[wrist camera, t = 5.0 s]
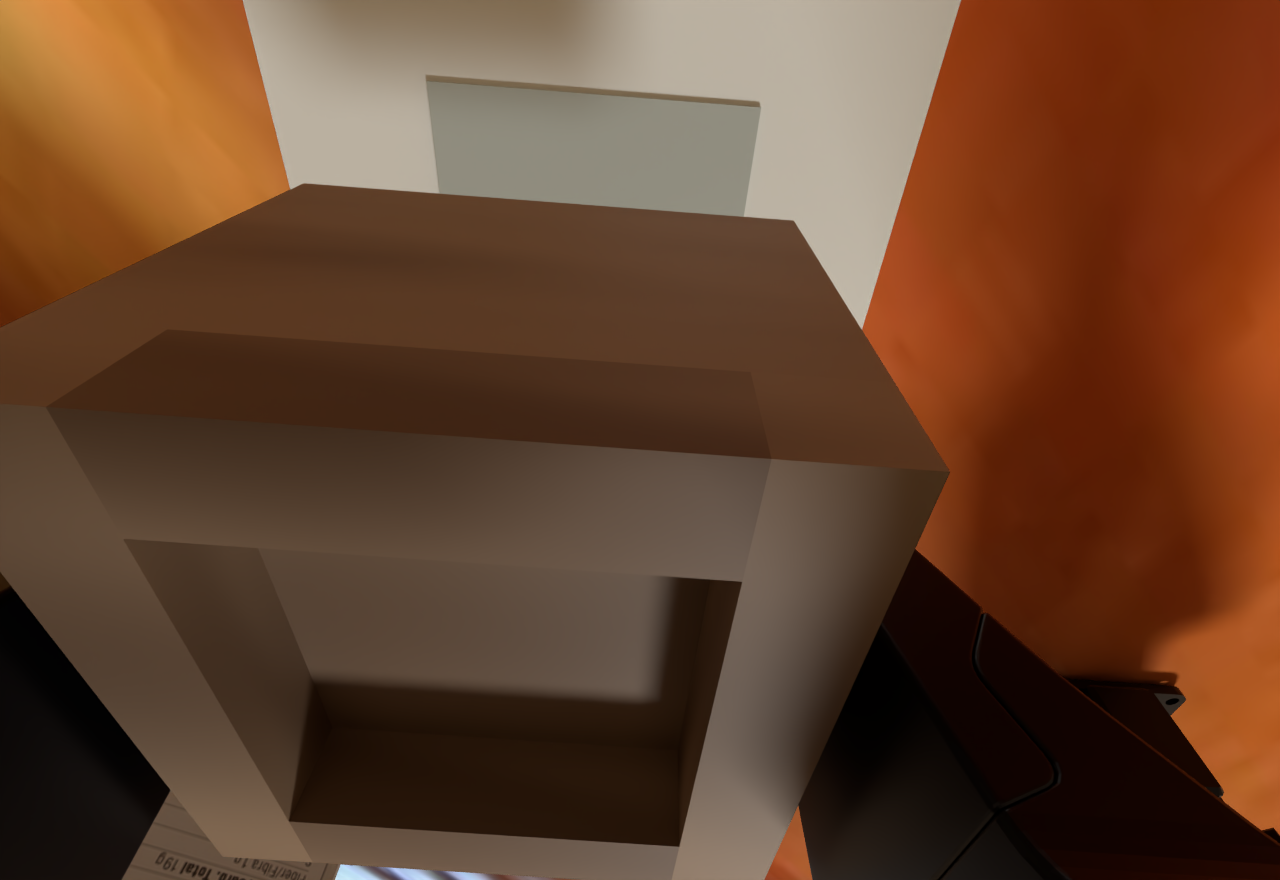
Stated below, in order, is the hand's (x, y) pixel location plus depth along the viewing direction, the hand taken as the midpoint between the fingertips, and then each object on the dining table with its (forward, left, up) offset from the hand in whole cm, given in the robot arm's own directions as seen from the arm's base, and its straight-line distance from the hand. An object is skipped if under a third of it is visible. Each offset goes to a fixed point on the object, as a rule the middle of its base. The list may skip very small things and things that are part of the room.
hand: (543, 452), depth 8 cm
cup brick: (0, 0, -1) cm, 1 cm away
